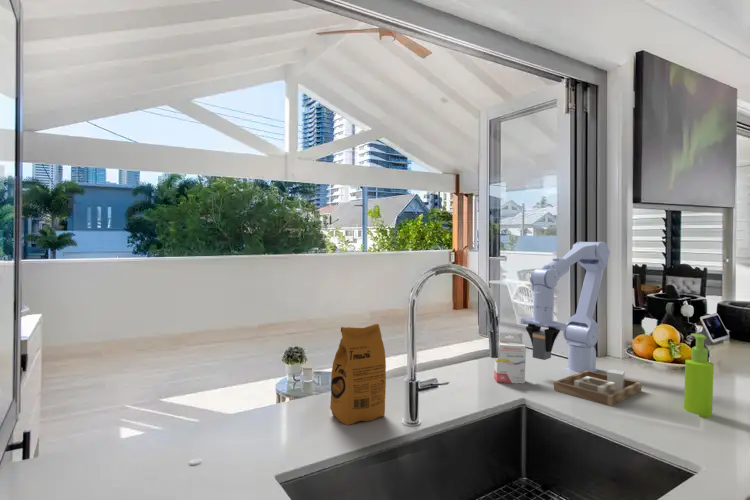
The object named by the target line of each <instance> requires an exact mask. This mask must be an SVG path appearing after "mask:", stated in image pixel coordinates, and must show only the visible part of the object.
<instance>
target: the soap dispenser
mask: <svg viewBox="0 0 750 500" xmlns="http://www.w3.org/2000/svg"><path fill="white" fill-rule="evenodd" d="M690 336H691V337H695V346H693V347H691V355H690V356H691V358H689V359H685V361H684V363H685V366H684V367H685V368H684V395H683V397H684V398H683V400H684V401H683V409H684V411H686V412H689V413H692V414H696V415H698V416H699V417H700V418H711V417H712V416H713V395H714V392H713V391H714V363H713V362H710V361H709V360H708V359H709V358H708V356H709V355H708V353H709V349H708V348H706V347H705V340H707V336H706V335H704V334H703V333H690Z"/></svg>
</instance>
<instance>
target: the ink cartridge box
mask: <svg viewBox="0 0 750 500" xmlns="http://www.w3.org/2000/svg"><path fill="white" fill-rule="evenodd" d="M499 332H500V358H498V359H495V358H494V371H493V373H494V375H493V376H494V380H495V381H496V383H502V382H506V383H505V384H518V383H525V382H526V381H525V380H526V357H527V355H526V354H527V353H526V352H527V350H526V349H527V348H526V344H524V343H523V333H522V332H503V331H502V332H501V331H499ZM509 336H510V337H511V338H510V337H509ZM512 337H513V338H512Z"/></svg>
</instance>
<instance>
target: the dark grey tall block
mask: <svg viewBox="0 0 750 500" xmlns="http://www.w3.org/2000/svg"><path fill="white" fill-rule="evenodd" d="M532 358H534V359H537V360H542V361H545V360H548V359H549V360H550V359H551V358H552V351H551V352H546V336H545V331H544V330H540V331H536V332H533V346H532Z"/></svg>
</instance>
